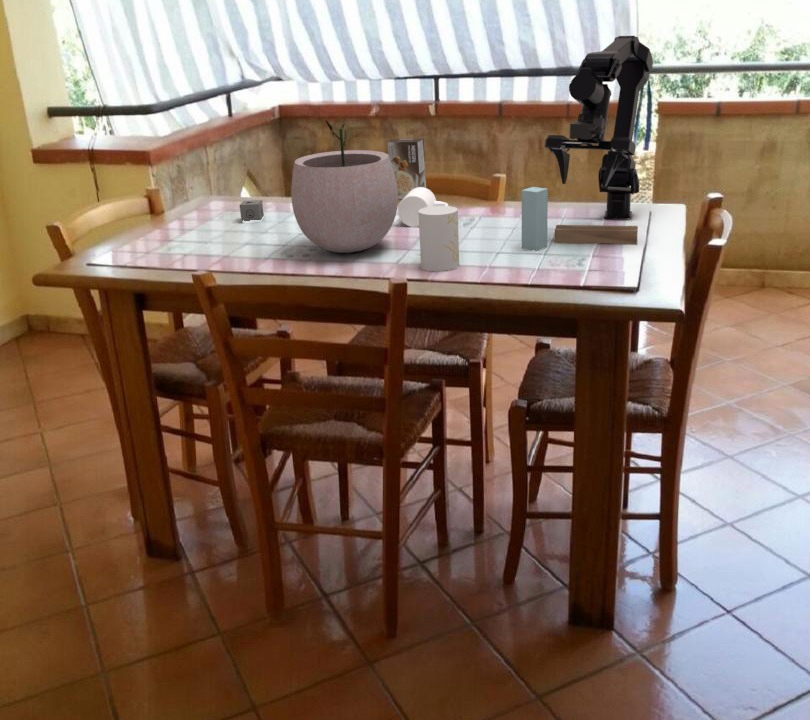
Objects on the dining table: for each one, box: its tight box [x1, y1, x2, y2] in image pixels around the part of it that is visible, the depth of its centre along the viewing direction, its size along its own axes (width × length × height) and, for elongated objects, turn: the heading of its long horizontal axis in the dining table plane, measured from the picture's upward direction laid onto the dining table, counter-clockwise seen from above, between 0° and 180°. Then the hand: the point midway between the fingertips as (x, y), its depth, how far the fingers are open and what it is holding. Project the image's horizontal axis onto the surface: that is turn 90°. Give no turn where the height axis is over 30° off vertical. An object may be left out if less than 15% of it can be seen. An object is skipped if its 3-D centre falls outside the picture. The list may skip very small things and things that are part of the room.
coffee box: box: [387, 138, 427, 200], centre depth 247 cm, size 9×6×16 cm
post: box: [521, 186, 549, 252], centre depth 193 cm, size 4×4×13 cm
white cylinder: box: [418, 205, 460, 272], centre depth 184 cm, size 8×8×12 cm
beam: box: [553, 224, 639, 245], centre depth 197 cm, size 4×18×3 cm, turn 75°
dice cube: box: [239, 199, 265, 222], centre depth 232 cm, size 5×5×5 cm
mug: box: [397, 187, 450, 228], centre depth 220 cm, size 12×10×8 cm
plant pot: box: [291, 116, 399, 254], centre depth 196 cm, size 24×24×30 cm
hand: (584, 185), depth 191 cm, fingers open, 9 cm apart
